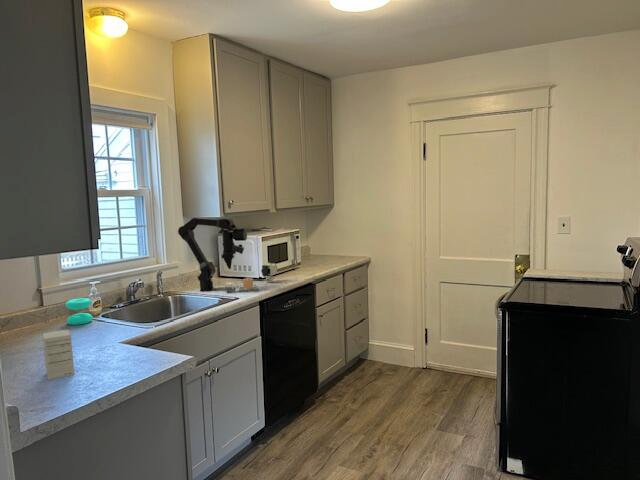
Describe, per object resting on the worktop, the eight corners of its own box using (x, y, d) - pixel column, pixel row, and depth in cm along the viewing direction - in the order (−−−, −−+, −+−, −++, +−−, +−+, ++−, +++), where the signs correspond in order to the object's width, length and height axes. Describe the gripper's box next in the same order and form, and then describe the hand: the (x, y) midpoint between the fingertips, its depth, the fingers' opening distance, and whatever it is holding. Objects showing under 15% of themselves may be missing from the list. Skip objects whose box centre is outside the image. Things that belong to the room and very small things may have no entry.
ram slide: (226, 290, 259) (226, 284, 258) (227, 289, 262) (226, 282, 262) (232, 290, 259) (232, 283, 259) (233, 288, 262) (232, 282, 262)
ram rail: (226, 293, 258) (226, 287, 257) (229, 288, 271) (228, 283, 271) (232, 292, 258) (232, 287, 258) (234, 287, 272) (234, 282, 271)
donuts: (69, 303, 199) (62, 300, 206) (71, 327, 200) (64, 323, 207) (94, 299, 206) (86, 296, 213) (96, 322, 207) (88, 318, 214)
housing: (243, 289, 260) (243, 278, 259) (244, 287, 265) (243, 277, 264) (252, 288, 260) (252, 278, 260) (253, 287, 265) (252, 276, 265)
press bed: (238, 292, 258) (238, 290, 258) (239, 289, 266) (239, 287, 266) (257, 291, 259) (257, 289, 259) (257, 288, 267) (257, 286, 267)
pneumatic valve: (261, 284, 280) (260, 263, 279) (271, 280, 291) (270, 261, 290) (269, 284, 278) (268, 264, 277) (279, 280, 289) (278, 261, 288)
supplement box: (46, 373, 146) (42, 333, 145) (73, 367, 150) (69, 328, 149) (46, 380, 140) (42, 338, 139) (74, 375, 144) (71, 334, 142)
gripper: (241, 241, 255) (243, 270, 256) (243, 238, 273) (245, 265, 275) (220, 242, 253) (222, 271, 255) (224, 239, 272) (225, 266, 273)
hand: (229, 268), depth 265 cm, fingers closed
